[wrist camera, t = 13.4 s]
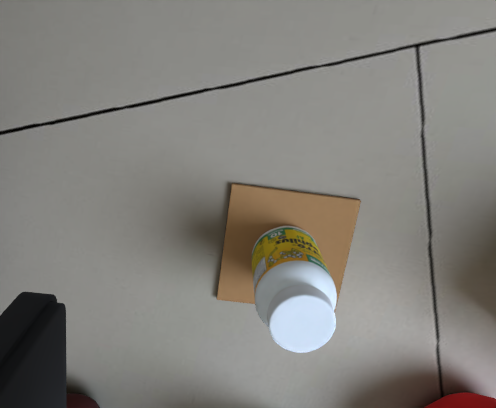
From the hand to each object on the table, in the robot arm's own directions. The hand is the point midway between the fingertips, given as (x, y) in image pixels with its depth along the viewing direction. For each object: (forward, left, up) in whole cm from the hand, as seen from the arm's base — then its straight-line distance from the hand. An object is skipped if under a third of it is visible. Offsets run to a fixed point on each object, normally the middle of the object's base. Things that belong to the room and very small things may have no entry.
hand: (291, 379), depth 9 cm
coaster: (+9, -2, -24) cm, 26 cm away
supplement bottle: (+9, -2, -24) cm, 26 cm away
